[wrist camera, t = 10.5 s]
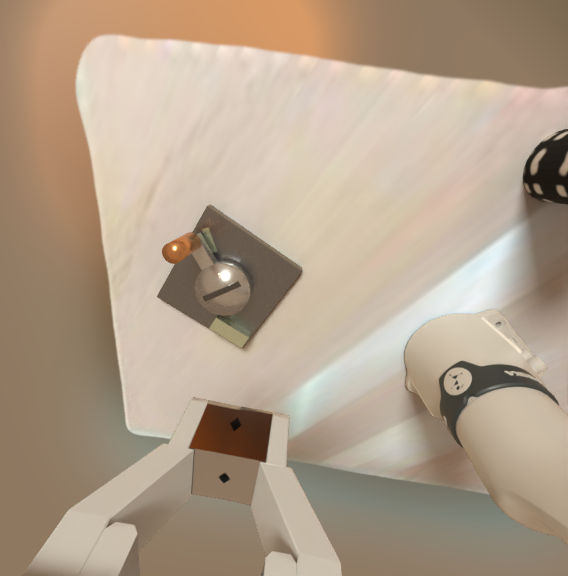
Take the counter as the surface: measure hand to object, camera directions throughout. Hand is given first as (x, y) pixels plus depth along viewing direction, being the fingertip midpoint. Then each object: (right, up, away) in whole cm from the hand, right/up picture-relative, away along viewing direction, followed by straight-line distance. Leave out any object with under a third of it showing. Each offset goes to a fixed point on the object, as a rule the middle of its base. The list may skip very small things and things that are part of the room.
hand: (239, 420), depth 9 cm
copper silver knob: (-9, +7, +33) cm, 35 cm away
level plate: (-7, +5, +35) cm, 37 cm away
